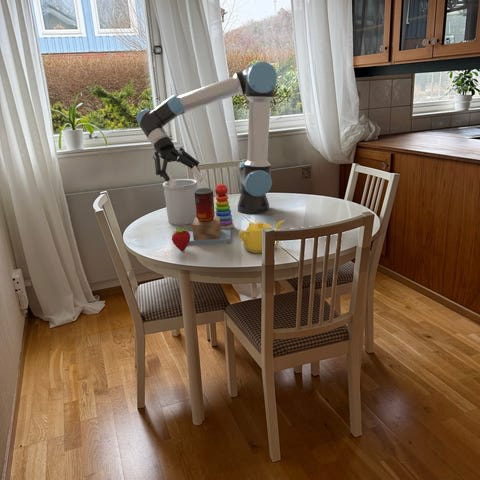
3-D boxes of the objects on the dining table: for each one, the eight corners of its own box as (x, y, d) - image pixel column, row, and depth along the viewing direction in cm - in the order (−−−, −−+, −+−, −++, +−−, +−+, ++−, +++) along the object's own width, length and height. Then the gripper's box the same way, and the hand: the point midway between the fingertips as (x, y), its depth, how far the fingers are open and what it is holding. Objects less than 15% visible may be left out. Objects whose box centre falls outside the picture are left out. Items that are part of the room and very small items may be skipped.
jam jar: (199, 217, 171) (197, 187, 167) (217, 218, 170) (215, 187, 166) (194, 223, 165) (191, 191, 161) (212, 223, 163) (210, 191, 159)
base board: (231, 232, 175) (230, 229, 175) (230, 243, 164) (230, 239, 163) (186, 234, 176) (186, 231, 175) (183, 245, 164) (182, 241, 164)
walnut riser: (221, 230, 174) (220, 216, 172) (219, 238, 164) (218, 223, 162) (196, 231, 174) (194, 217, 172) (193, 240, 165) (192, 225, 163)
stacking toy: (236, 225, 184) (234, 182, 178) (229, 231, 177) (227, 186, 171) (219, 224, 187) (216, 181, 181) (212, 230, 180) (208, 186, 173)
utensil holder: (194, 225, 187) (191, 185, 181) (162, 225, 190) (157, 186, 184) (203, 216, 201) (200, 178, 195) (173, 215, 204) (169, 178, 198)
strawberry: (169, 253, 157) (166, 227, 153) (183, 246, 163) (180, 221, 159) (181, 256, 154) (178, 229, 150) (195, 249, 159) (193, 223, 156)
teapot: (272, 257, 148) (272, 230, 145) (236, 253, 153) (235, 227, 150) (284, 244, 160) (284, 218, 157) (251, 241, 165) (250, 216, 162)
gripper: (182, 145, 185) (208, 183, 180) (132, 153, 169) (158, 195, 164) (189, 132, 180) (216, 172, 175) (137, 139, 163) (165, 183, 158)
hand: (188, 183), depth 169 cm, fingers open, 13 cm apart
